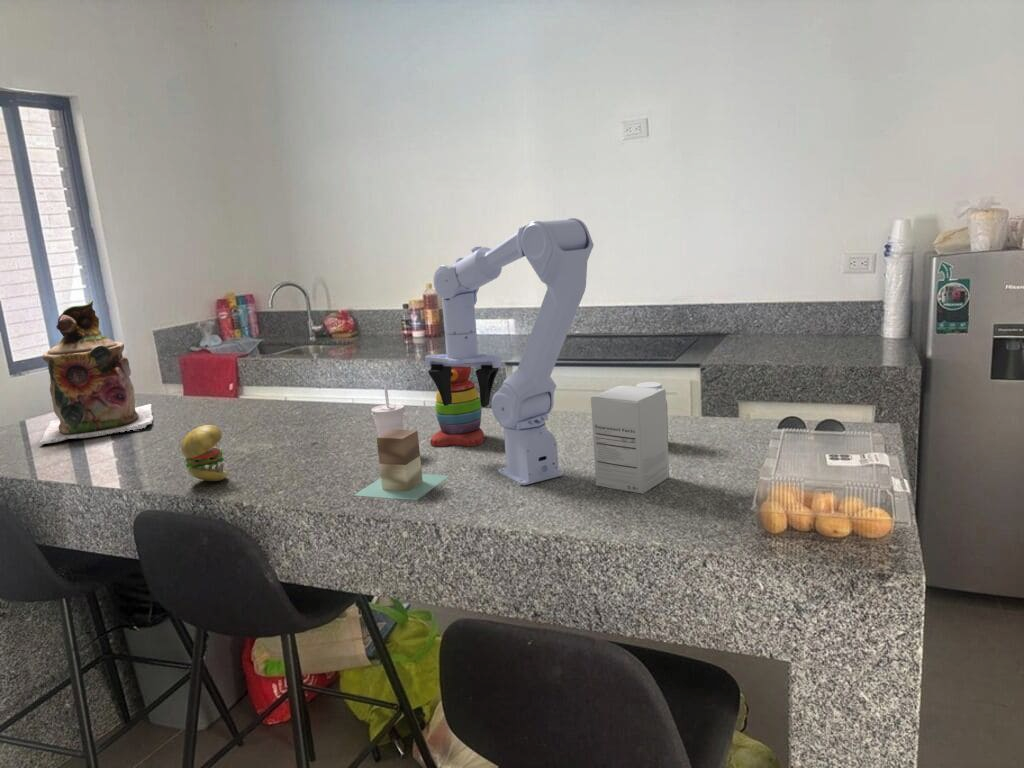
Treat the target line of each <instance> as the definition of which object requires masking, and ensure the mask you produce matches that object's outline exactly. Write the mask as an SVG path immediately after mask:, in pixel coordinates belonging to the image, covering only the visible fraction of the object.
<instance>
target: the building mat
mask: <svg viewBox="0 0 1024 768" xmlns="http://www.w3.org/2000/svg"><path fill="white" fill-rule="evenodd" d="M449 477H450V475H447V474H444V475H443V474H431V473H430V474H429V473H428V474H427V473H422V479H423V481H422V482H421V483H419V484H418V485H416V486H415V487H414V488H412V489H411V490H409V491H399V490H384V489H382V482H381V477H380V478H379V479H377V480H376V481H374V482H372V483H371V484H368V485H367V486H366V487H364V488H362V489H361V490H359V491H358V492H356V493H354V494H353V495H352V496H354V497H364V498H365V497H367V498H369V497H370V498H380V499H391V500H393V499H395V500H405V501H407V500H408V501H418V500H419V499H421V498H422V497H423V496H425V495H426V494H428V493H429V492H430V491H431V490H433V489H434V488H436V487H437V486H438V485H440V484H441V483H442V482H444V481H445V480H446V479H448V478H449Z"/></svg>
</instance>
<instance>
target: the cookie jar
mask: <svg viewBox="0 0 1024 768" xmlns="http://www.w3.org/2000/svg"><path fill="white" fill-rule="evenodd" d="M93 304H94V300H93V299H92V300H89V302H87V303H86V304H83V305H82V304H81V305H74V306H73V305H72V306H70V307H68V308H66V309H64V311H63V312H62V313H61V314H60V315H59V316H58V318H57V324H56V326H55V327H56V329H57V330H58V331H59V332H60V334H61V335H62V339H61V340H60V342H59V343H58V344H56V345H54V346H52V347H51V348H50V349H48V350H47V351H45V352H43V354H42V359H43V360H44V362H45V363H46V364H47V369H48V373H49V377H50V378H49V382H50V386H49V394H50V396H51V401H52V408H53V412H54V414H55V416H56V417H57V418H58V420H56V419H55V420H51V421H49V422H48V426H47V428H46V430H45V431H44V432H43V436H42V439H41V440H39V441H38V444H39V445H40V446H41V447H42V446H43V445H45V444H52V443H53V444H54V443H58V442H62V441H66V440H68V439H86V438H93V437H100V436H107V434H108V435H114V434H119V432H120V433H125V431H127V432H131V431H130V430H133V431H136V430H135V429H141V428H144V429H145V428H146V427H147V426H148V425H152V424H153V420H154V419H153V418H154V416H153V415H152V413H153V412H152V406H153V404H151V403H148V404H145V405H142V406H136V398H135V388H134V385H133V383H132V380H131V378H130V376H131V374H132V371H131V367H130V362H129V359H128V357H126V356H123V352H124V350H125V344H124V342H121V341H114V340H112V339H111V338H109V337H108V336H106V335H103V334H102V333H101V331H100V329H99V328H100V327H99V326H100V318H99V317H98V316H97V315H96V310H94V308H93ZM141 430H142V429H141ZM113 433H114V434H113Z"/></svg>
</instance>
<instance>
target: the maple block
mask: <svg viewBox="0 0 1024 768" xmlns="http://www.w3.org/2000/svg"><path fill="white" fill-rule="evenodd" d="M379 471H380V478H381V482H382V489H384V490H399V491H409V490H411V489H412V488H414V487H415V486H416V485H418V484H419V483H421V482H422V481H423V479H422V474H423V472H422V462H421V455H420V456H419V457H417V458H416V459H414V460H413V461H411V462H410V463H408V464H406V465H397V464H380V463H379Z"/></svg>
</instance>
